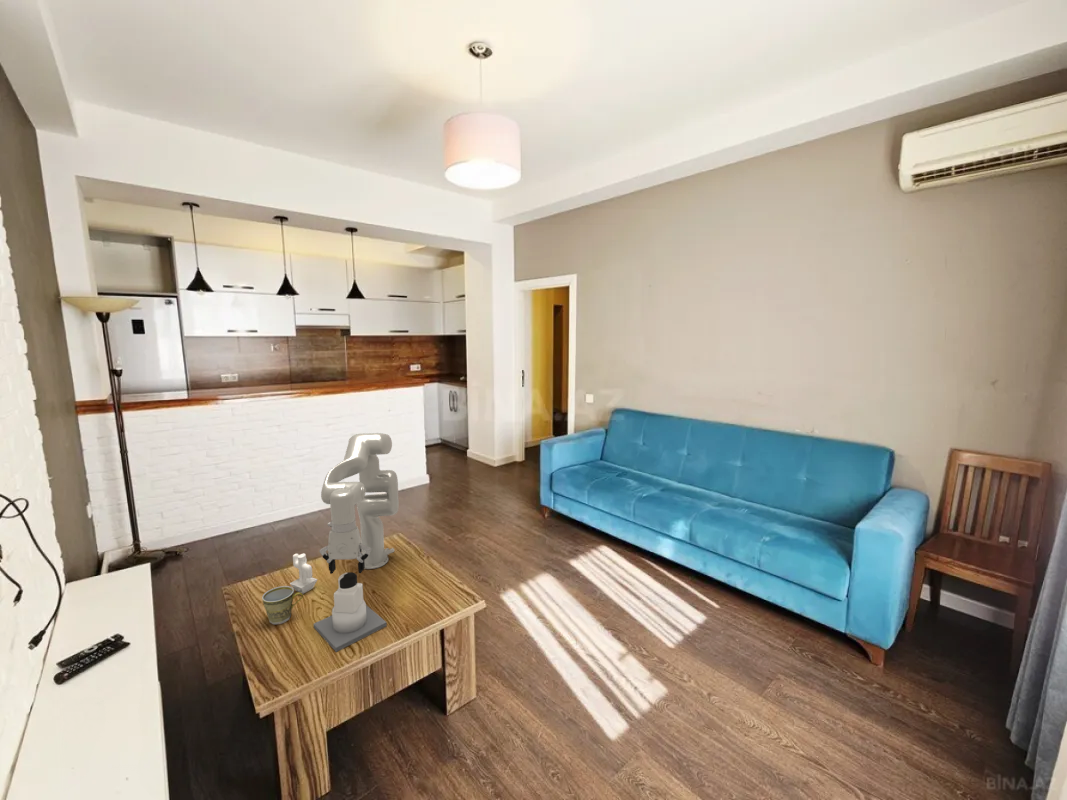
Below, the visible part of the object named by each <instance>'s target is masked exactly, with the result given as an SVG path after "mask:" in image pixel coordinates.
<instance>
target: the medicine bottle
mask: <svg viewBox="0 0 1067 800" xmlns="http://www.w3.org/2000/svg"><path fill="white" fill-rule="evenodd" d="M337 581H338V588H337V589H336V591H334V593H333V603H334V606H335V612H340V613H355V612H356V610H357V609H358V608H359V606H360V605H361V604H362V603H363V600H364V590H363V589H364V588H363V587H364V585H363V583H361V582H358V575H357V573H355V572H351V571H350V572H344V573H342V574H340V575H339V576H338V579H337ZM334 606H333V607H334Z"/></svg>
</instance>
